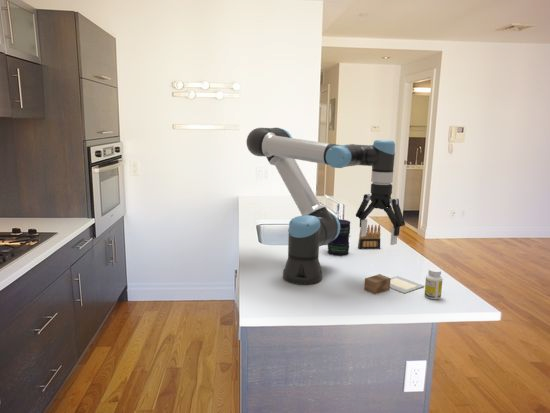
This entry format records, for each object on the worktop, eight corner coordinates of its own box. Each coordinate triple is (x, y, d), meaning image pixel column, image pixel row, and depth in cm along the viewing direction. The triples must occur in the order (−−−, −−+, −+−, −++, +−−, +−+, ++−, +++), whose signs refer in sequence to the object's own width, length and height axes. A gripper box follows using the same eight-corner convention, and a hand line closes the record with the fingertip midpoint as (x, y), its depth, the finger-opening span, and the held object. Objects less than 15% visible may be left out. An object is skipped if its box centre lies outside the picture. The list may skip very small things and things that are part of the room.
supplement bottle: (436, 293, 147) (439, 267, 145) (443, 299, 142) (446, 272, 140) (421, 293, 147) (424, 267, 145) (427, 299, 141) (430, 272, 139)
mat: (404, 293, 146) (404, 292, 146) (377, 283, 156) (377, 281, 155) (424, 286, 153) (424, 285, 153) (397, 277, 163) (397, 275, 162)
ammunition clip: (359, 249, 199) (360, 225, 197) (357, 248, 201) (359, 224, 199) (380, 248, 201) (382, 224, 198) (378, 247, 202) (380, 223, 200)
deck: (374, 294, 145) (375, 282, 144) (364, 290, 149) (364, 278, 148) (389, 290, 150) (390, 278, 149) (378, 285, 154) (379, 274, 153)
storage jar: (348, 256, 187) (350, 224, 184) (326, 255, 189) (328, 223, 186) (349, 250, 197) (350, 219, 194) (328, 249, 198) (329, 218, 196)
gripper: (418, 186, 142) (413, 246, 146) (361, 179, 161) (358, 231, 165) (405, 188, 138) (401, 249, 142) (348, 180, 157) (345, 234, 161)
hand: (377, 240), depth 154 cm, fingers open, 13 cm apart
